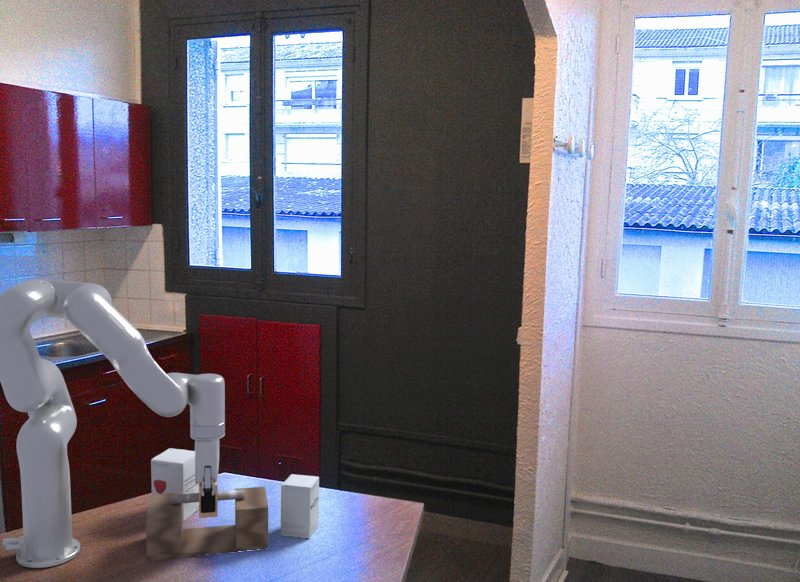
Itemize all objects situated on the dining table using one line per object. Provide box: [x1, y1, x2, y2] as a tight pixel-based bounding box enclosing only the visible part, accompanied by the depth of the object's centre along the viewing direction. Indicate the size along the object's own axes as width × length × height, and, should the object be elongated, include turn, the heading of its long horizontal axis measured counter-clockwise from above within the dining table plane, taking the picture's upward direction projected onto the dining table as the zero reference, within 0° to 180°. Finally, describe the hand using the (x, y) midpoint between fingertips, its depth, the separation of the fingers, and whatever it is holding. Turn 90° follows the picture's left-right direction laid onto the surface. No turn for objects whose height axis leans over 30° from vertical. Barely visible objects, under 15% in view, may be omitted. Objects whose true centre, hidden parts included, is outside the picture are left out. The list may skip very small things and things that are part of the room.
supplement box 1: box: [150, 447, 199, 522], centre depth 182 cm, size 9×9×15 cm
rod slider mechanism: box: [145, 486, 269, 562], centre depth 167 cm, size 26×12×12 cm, turn 104°
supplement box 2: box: [280, 473, 320, 540], centre depth 174 cm, size 7×7×13 cm
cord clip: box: [198, 476, 219, 519], centre depth 166 cm, size 4×6×8 cm, turn 14°
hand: (208, 505), depth 166 cm, fingers closed on cord clip, 5 cm apart
